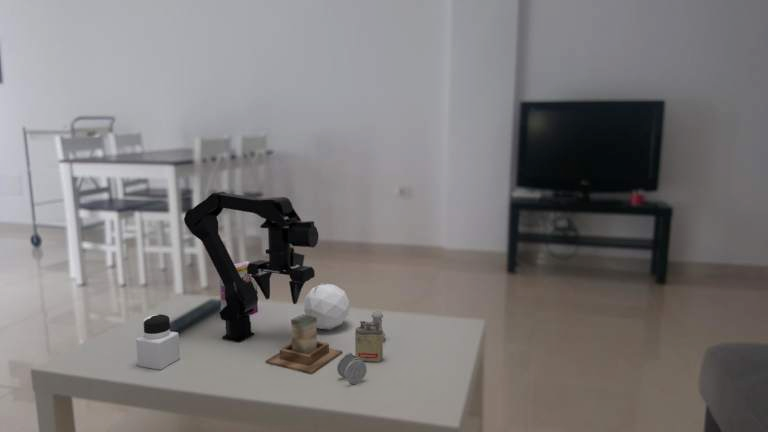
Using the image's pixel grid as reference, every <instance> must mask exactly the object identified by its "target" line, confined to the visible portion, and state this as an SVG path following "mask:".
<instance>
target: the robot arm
mask: <svg viewBox="0 0 768 432" xmlns="http://www.w3.org/2000/svg"><path fill="white" fill-rule="evenodd" d="M224 209H226V210H234V211H239V212H246V213H252V214H255V215H257V216H259V217H260V218H261V219H264V220H265V221H264V222H263V223H262V224H260V225H259V227H260V228H261V229H267V236H268V238H267V240H268V241H267V242H268V248H267V249H265V254H266V255H268V260H264V259H259V260H256V261H251V262H252V263H249V265H248V266H247V274H252V275H251V277H253V278H254V280H255V281H256V283H257V287H259V289H260V291H261V292H262V295H263V296H264V298H265V300H269V299H270V297H271V281H270V280H271V277H272V275H273V274H279V275H283V276H284V275H285V276H289V278H290V280H289V284H288V285H289V289H290V294H291V296H290V297H291V300H292V304H293V305H296V304H298V300H299V298H300V294H301V292H302V289H303V287H304V284H306V282H308V281H310V280H311V279H313V278H315V275H316V274H315V273H316V272H315V269H314V267H313V266H307V265H304V261H305V255H304V254H301V253H298V252H295V249H294V247H300V248H315V247H316V246H317V244H318V242H319V232H318V229H317V227H316V226H315V221H314V220H307V221H304V220H303V221H302V218H300V216H299V214H298V213H297V212H296V210H295V209H294V207H293V204H292V202H291V200H290V198H288V197H285V196H277V197H276V196H275V197H263V198H262V197H255V196H247V195H242V194H235V193H229V192H225V191H219V192H213V193H211V194H210V195H208V196H207V198H206V199H204V200H202V201H201V202H199V203H198V204H197V205H195V206H194V207H193V208H190V209H188V210H187V211H186V212H185V214H184V218H183V222H184V224H185V225H186V228H187V229H188V230H189V232H190V234H192V235H193V236H195V238H198V240H199V241H201V242H202V245H203V247H204V249H205V250H206V253H207V254H208V257H209V258H210V261H211V262H212V265H213V266H214V268H215V270H216V272H217V274H218V276H219V279H220V278H221V280H222V282H223V284H224V286H225V300H226V303H227V305H226V306H225V307H224V308H223V309H222V311H221V310H220V311H219V316H220V319H221V320H222V321H225V335H222V337H221V338H222V339H224V340H228V341H230V342H231V341H232V342H237V343H242V342H243V341H245V340H246V339H249V338H250V337H252V336H255V332H252V322H251V318H250V315H248V314H249V313H252V312H253V309H254V307H255V306H256V305H257V303H258V301H259V296H258V294H259V292H258V290H257V291H256V290H255V288H254V285H253V283H252V282H251V281H249V282H246V281H244V280H243V279H242V278H241V277H240V275H239V273H238V271H237V269H236V267H235V265H234V264H235V263H234V261H233V259H232V257H231V256H230V254H229V252H228V249H227V247H226V245H225V243H224V241H223V240H222V238H221V235H220V233H219V220H218V216H219V215H220V214H221V213H222V212H223V210H224ZM292 246H293V247H292ZM293 267H294V268H293Z"/></svg>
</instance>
